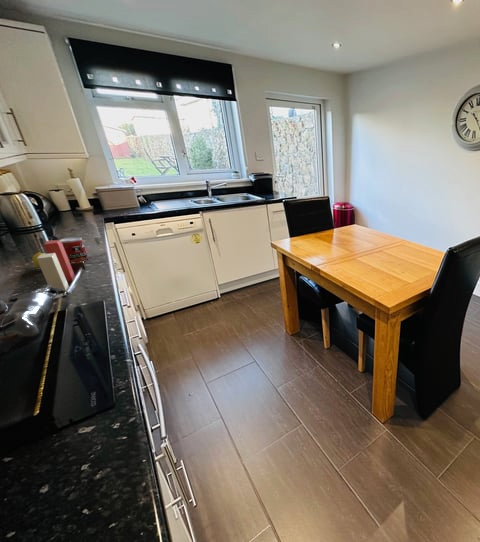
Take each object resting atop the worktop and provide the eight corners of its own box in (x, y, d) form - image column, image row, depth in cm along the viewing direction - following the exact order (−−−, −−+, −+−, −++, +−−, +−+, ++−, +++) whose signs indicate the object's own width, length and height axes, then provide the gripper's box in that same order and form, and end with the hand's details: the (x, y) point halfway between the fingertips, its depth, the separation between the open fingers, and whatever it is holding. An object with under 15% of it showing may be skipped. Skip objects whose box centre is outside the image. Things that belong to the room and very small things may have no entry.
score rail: (43, 301, 101) (38, 290, 99) (62, 273, 123) (58, 264, 122) (73, 295, 105) (69, 285, 104) (86, 269, 128) (83, 261, 126)
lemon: (49, 270, 125) (42, 254, 122) (33, 271, 124) (25, 254, 121) (57, 266, 130) (50, 250, 127) (42, 267, 129) (35, 250, 126)
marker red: (59, 282, 112) (43, 244, 106) (62, 278, 116) (47, 241, 110) (72, 280, 114) (57, 242, 108) (75, 276, 118) (60, 239, 112)
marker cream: (52, 294, 103) (36, 258, 98) (55, 289, 107) (40, 254, 102) (66, 291, 105) (51, 256, 100) (69, 286, 109) (55, 252, 104)
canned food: (70, 264, 133) (62, 242, 128) (65, 261, 137) (56, 239, 132) (91, 260, 139) (84, 238, 134) (86, 256, 143) (78, 235, 138)
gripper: (57, 292, 85) (69, 273, 98) (-10, 304, 78) (13, 281, 91) (66, 314, 88) (77, 292, 101) (3, 327, 81) (23, 302, 94)
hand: (46, 287), depth 96 cm, fingers closed
